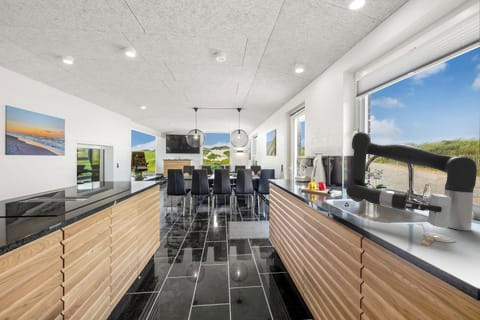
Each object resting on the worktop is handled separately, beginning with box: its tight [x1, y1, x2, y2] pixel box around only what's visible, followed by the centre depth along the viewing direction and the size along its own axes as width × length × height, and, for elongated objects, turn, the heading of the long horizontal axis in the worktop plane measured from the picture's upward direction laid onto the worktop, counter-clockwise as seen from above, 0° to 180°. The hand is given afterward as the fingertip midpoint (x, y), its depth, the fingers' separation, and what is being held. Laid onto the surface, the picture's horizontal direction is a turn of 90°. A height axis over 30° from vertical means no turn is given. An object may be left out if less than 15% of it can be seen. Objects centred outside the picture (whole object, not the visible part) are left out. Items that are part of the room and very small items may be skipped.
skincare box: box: [427, 193, 451, 229], centre depth 82 cm, size 6×4×12 cm
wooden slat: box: [420, 237, 436, 247], centre depth 78 cm, size 10×2×1 cm, turn 127°
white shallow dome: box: [423, 231, 456, 244], centre depth 82 cm, size 9×9×1 cm
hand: (443, 208), depth 81 cm, fingers closed on skincare box, 7 cm apart
